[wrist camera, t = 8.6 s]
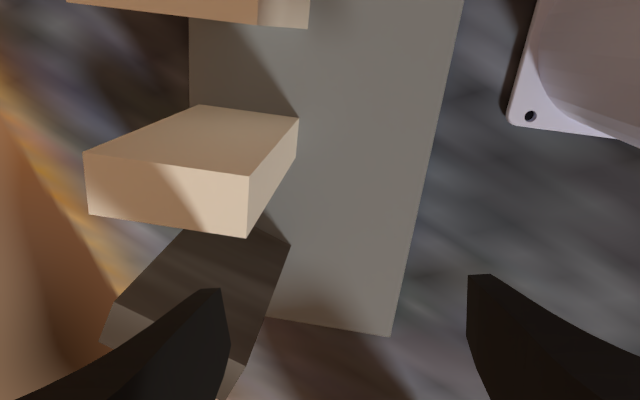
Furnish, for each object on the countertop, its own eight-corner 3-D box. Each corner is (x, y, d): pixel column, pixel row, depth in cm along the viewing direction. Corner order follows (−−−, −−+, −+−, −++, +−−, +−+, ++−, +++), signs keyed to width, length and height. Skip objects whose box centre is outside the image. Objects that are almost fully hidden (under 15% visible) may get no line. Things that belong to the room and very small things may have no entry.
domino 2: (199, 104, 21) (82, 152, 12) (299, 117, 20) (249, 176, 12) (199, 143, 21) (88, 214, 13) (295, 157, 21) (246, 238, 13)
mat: (585, -564, 12) (593, -587, 12) (389, 331, 25) (389, 337, 24) (191, -575, 13) (184, -598, 13) (193, 299, 26) (190, 304, 25)
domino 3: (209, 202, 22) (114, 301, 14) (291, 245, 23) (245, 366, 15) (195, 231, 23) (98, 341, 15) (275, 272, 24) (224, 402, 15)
